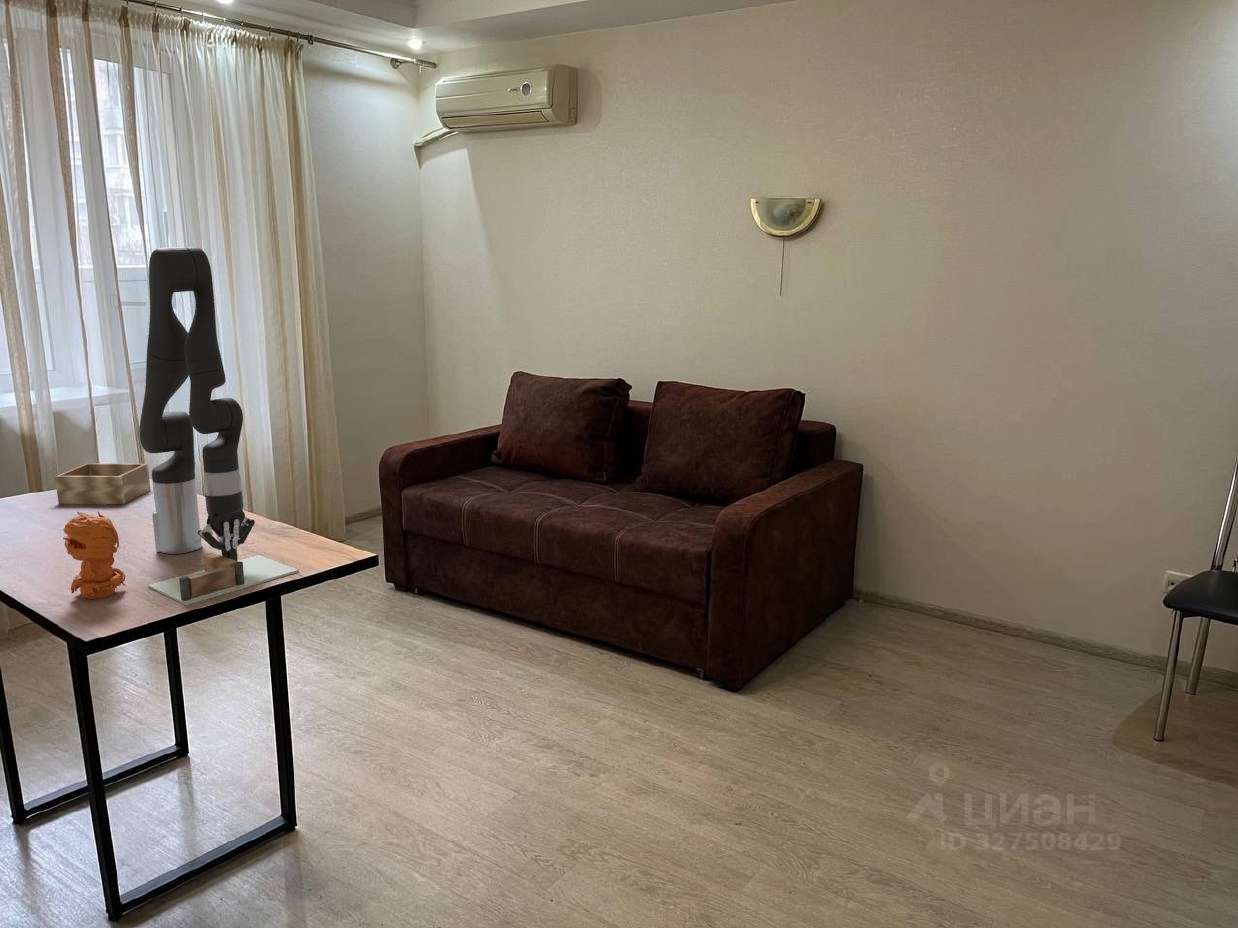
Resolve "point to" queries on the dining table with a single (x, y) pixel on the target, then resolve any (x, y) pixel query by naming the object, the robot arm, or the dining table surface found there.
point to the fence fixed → (211, 580)
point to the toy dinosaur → (93, 555)
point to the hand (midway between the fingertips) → (230, 564)
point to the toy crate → (102, 483)
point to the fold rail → (216, 561)
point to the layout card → (254, 573)
